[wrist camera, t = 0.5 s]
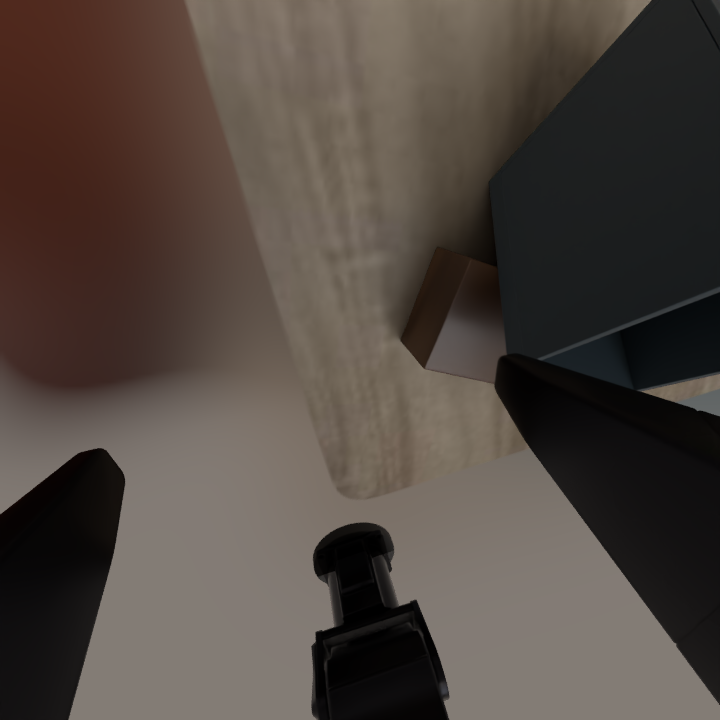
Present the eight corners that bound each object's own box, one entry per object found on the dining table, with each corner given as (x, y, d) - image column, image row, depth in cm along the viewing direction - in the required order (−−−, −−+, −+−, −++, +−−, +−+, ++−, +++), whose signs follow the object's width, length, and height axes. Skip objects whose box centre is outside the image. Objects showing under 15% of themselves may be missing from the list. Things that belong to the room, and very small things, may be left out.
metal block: (521, 369, 25) (561, 398, 21) (399, 340, 22) (423, 369, 18) (563, 291, 23) (616, 309, 19) (436, 246, 19) (471, 258, 16)
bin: (520, 337, 24) (790, 496, 11) (433, 313, 21) (652, 479, 9) (642, 104, 19) (1379, -78, 6) (546, 40, 16) (1401, -448, 4)
